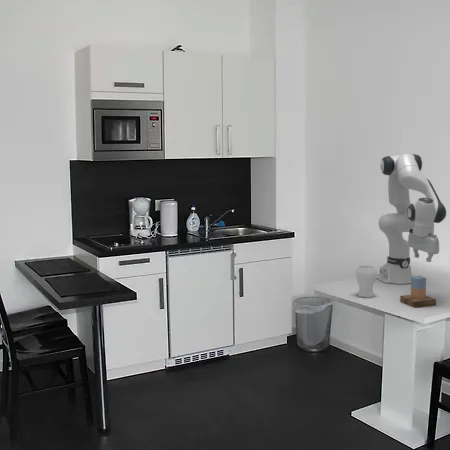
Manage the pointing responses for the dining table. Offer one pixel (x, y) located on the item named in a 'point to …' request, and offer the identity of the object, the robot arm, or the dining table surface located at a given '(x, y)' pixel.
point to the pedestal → (418, 301)
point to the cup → (366, 279)
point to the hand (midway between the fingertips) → (422, 259)
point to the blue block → (418, 282)
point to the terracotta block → (418, 293)
